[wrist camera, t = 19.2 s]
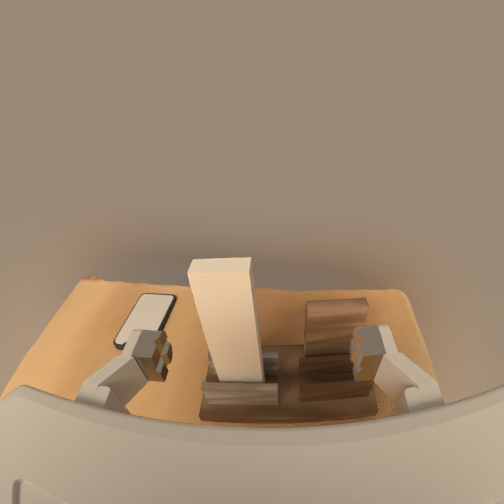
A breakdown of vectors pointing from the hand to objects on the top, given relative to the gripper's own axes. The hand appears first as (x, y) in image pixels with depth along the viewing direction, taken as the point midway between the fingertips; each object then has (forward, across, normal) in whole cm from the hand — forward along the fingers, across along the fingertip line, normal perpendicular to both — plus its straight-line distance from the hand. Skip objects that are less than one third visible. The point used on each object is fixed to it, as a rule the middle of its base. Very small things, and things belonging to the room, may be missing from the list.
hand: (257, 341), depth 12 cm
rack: (+16, +2, -30) cm, 34 cm away
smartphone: (+30, -26, -31) cm, 50 cm away
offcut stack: (+21, +8, -28) cm, 36 cm away
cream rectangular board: (+15, -5, -28) cm, 33 cm away
